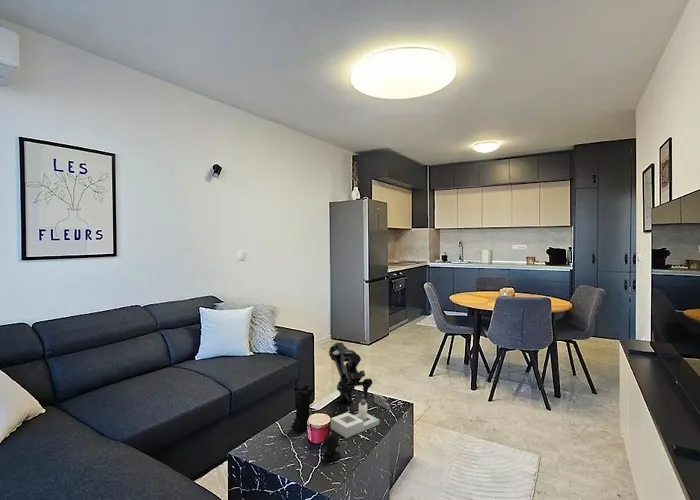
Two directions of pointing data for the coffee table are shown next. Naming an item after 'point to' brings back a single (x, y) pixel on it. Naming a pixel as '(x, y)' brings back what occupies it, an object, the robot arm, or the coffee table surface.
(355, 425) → the jack housing
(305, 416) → the chess piece
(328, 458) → the webcam
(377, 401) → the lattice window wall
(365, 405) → the plug
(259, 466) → the coffee table surface
